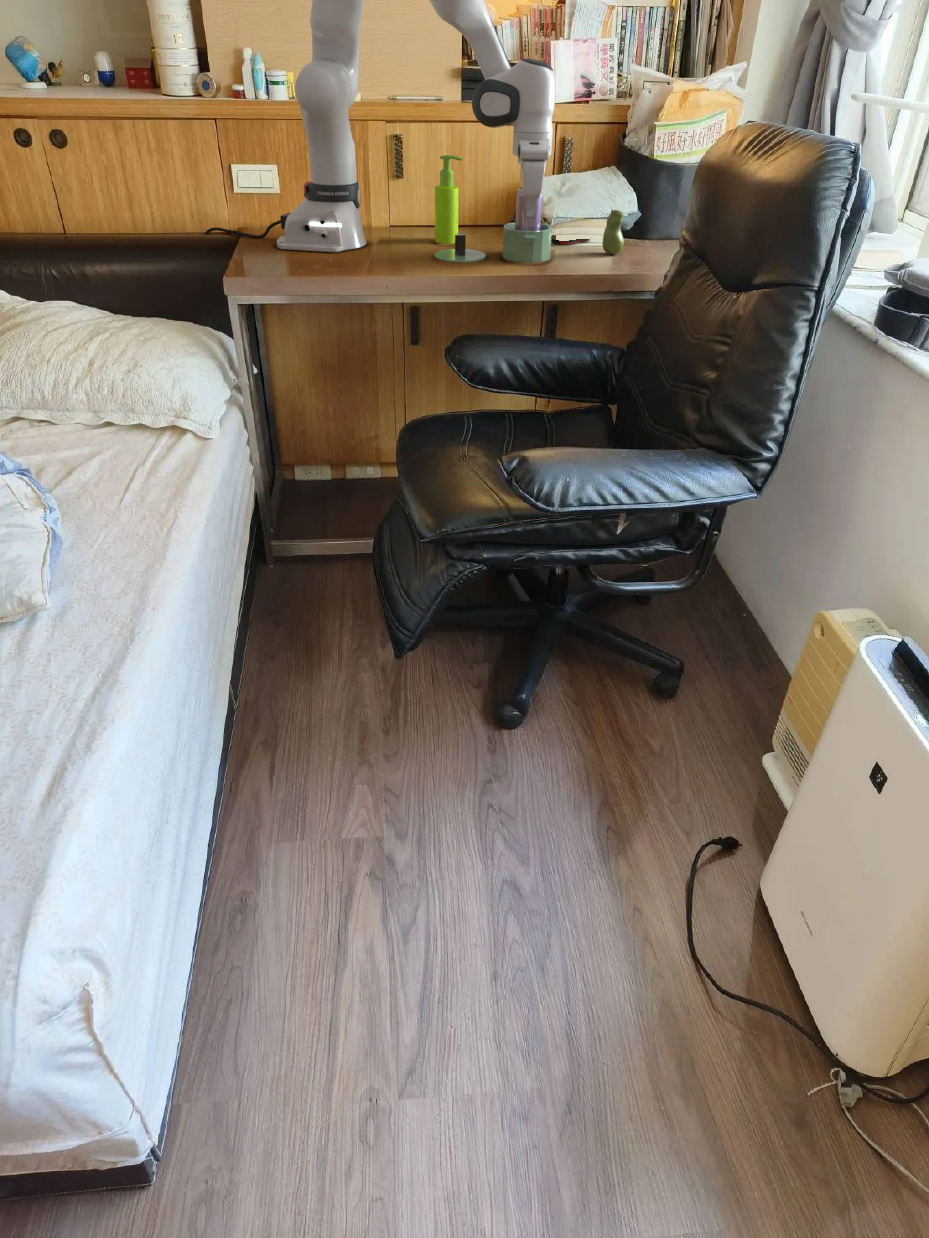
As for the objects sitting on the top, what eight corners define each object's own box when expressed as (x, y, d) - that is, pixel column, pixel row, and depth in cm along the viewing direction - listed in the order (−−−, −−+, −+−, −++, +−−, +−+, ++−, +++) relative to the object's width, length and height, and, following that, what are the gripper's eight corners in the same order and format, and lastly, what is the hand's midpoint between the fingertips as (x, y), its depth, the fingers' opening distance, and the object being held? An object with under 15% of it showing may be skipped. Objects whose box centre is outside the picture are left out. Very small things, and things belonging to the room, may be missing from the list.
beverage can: (538, 255, 202) (543, 187, 193) (537, 261, 197) (542, 191, 188) (514, 254, 202) (517, 186, 193) (513, 260, 197) (516, 190, 189)
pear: (602, 251, 208) (607, 207, 202) (623, 252, 207) (629, 208, 201) (600, 255, 204) (604, 211, 198) (621, 257, 203) (626, 212, 197)
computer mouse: (593, 241, 217) (595, 225, 215) (560, 246, 212) (562, 229, 210) (578, 237, 221) (580, 220, 219) (546, 241, 217) (547, 224, 214)
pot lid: (433, 265, 194) (433, 239, 190) (435, 253, 204) (434, 228, 200) (486, 266, 194) (487, 240, 191) (485, 253, 204) (485, 229, 201)
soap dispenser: (457, 247, 209) (458, 157, 198) (431, 244, 211) (431, 156, 199) (464, 242, 214) (466, 154, 202) (439, 240, 216) (439, 153, 204)
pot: (503, 267, 193) (505, 233, 189) (501, 251, 206) (502, 219, 202) (552, 268, 193) (554, 234, 189) (546, 252, 207) (548, 220, 202)
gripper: (515, 140, 194) (512, 205, 202) (520, 151, 177) (517, 221, 186) (542, 141, 194) (538, 205, 202) (550, 152, 178) (545, 222, 186)
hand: (528, 213), depth 194 cm, fingers closed on beverage can, 6 cm apart
